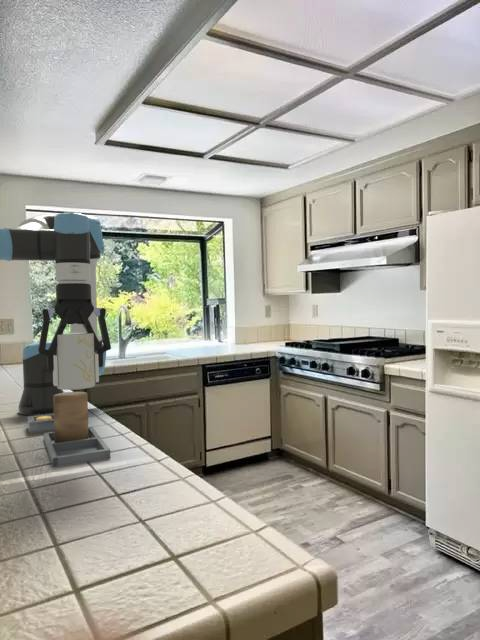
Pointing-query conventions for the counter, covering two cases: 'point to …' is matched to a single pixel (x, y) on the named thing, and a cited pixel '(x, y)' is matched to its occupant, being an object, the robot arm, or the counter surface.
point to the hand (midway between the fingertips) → (76, 383)
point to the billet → (70, 416)
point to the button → (43, 418)
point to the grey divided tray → (76, 449)
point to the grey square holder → (40, 424)
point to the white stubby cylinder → (75, 361)
